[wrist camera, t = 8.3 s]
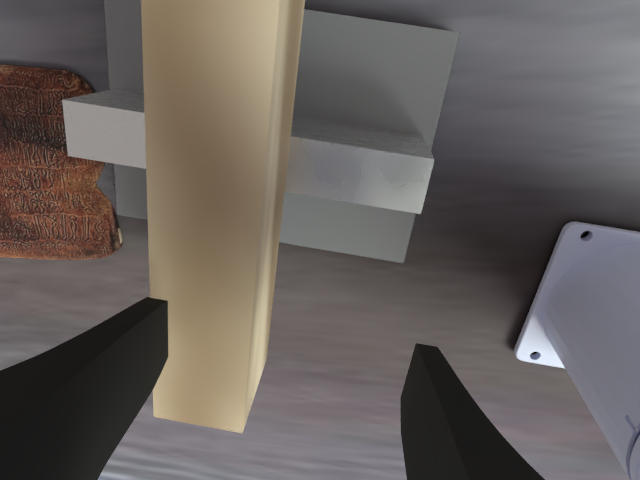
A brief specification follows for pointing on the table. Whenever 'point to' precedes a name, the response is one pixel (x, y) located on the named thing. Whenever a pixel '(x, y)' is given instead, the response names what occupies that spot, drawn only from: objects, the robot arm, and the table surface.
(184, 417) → the maple bar
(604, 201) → the table surface
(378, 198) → the steel ridge
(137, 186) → the grey slab
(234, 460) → the table surface
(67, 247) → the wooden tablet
